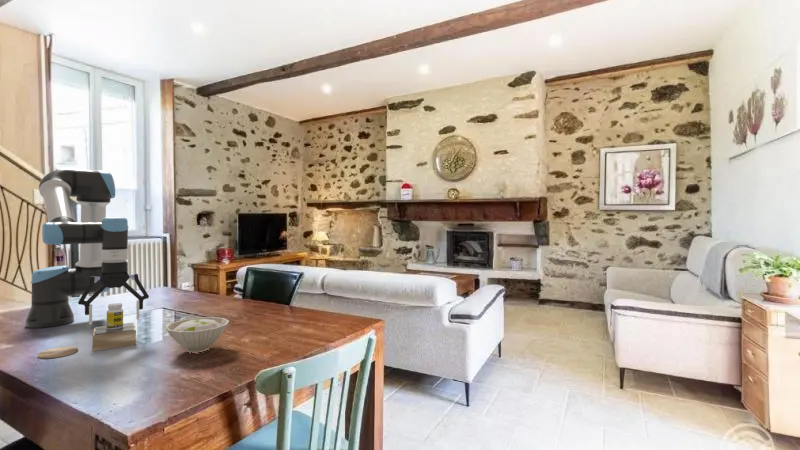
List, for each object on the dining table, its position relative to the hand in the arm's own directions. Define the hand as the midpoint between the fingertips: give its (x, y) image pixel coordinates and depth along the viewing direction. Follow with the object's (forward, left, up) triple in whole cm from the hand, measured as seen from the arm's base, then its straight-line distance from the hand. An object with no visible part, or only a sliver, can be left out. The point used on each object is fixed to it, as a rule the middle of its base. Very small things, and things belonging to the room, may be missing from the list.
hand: (114, 321), depth 141 cm
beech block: (0, 0, -8) cm, 8 cm away
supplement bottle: (0, 0, -3) cm, 3 cm away
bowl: (+24, +23, -8) cm, 34 cm away
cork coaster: (+3, -15, -8) cm, 17 cm away
